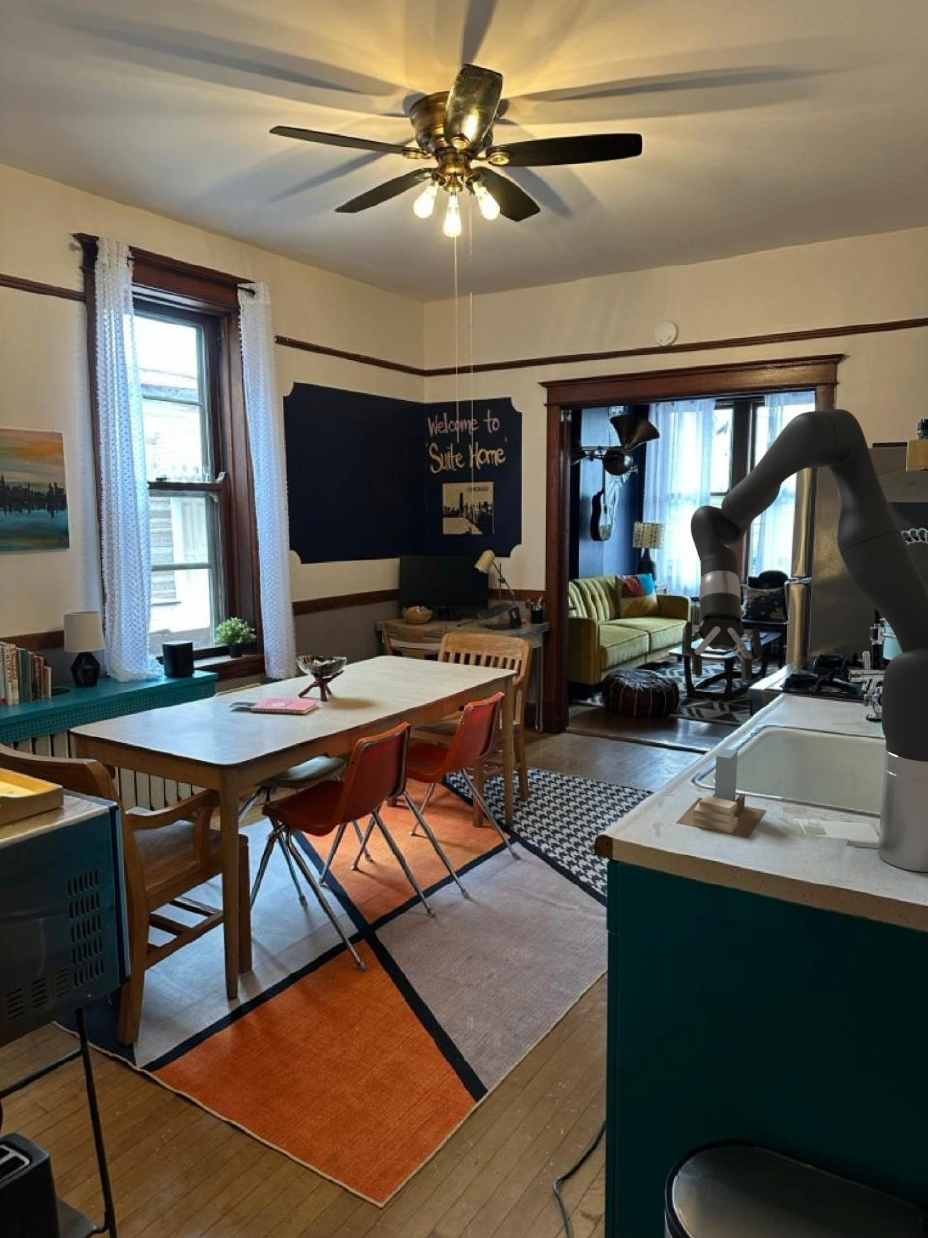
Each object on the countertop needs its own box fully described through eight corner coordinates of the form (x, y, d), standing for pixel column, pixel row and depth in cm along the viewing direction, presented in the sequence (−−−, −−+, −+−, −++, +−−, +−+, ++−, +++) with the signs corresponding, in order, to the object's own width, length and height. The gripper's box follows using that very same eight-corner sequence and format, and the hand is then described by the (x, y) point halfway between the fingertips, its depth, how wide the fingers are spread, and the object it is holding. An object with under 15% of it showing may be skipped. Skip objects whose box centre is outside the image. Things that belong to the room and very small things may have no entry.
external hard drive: (882, 852, 130) (800, 845, 132) (868, 831, 138) (791, 825, 140) (883, 842, 130) (801, 835, 132) (869, 822, 137) (792, 816, 140)
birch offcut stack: (737, 825, 137) (738, 801, 136) (731, 833, 133) (732, 809, 133) (698, 817, 140) (699, 794, 140) (691, 825, 137) (692, 801, 136)
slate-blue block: (734, 810, 143) (737, 750, 142) (727, 819, 139) (730, 758, 138) (721, 807, 145) (723, 748, 143) (713, 817, 140) (716, 756, 139)
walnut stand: (766, 815, 143) (767, 797, 143) (748, 843, 132) (749, 823, 131) (698, 802, 150) (699, 784, 149) (675, 828, 138) (676, 808, 137)
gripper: (687, 587, 152) (688, 668, 145) (763, 594, 151) (768, 675, 144) (678, 604, 159) (678, 682, 152) (751, 610, 158) (754, 689, 151)
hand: (722, 678), depth 148 cm, fingers open, 8 cm apart
